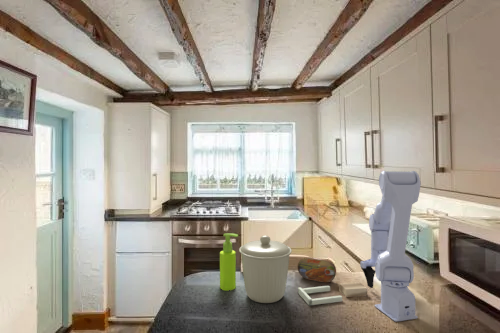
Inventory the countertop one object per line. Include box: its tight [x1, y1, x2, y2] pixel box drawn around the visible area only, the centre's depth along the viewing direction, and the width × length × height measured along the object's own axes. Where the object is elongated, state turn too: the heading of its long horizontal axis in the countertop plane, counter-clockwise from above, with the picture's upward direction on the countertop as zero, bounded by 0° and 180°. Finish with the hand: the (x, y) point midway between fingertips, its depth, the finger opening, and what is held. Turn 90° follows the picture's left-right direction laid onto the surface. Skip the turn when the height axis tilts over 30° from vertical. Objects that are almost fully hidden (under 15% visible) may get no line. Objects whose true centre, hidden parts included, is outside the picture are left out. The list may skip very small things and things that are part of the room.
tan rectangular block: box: [338, 281, 368, 298], centre depth 102 cm, size 5×8×3 cm, turn 98°
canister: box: [238, 235, 293, 304], centre depth 99 cm, size 18×18×21 cm
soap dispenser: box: [219, 232, 239, 292], centre depth 106 cm, size 6×7×20 cm
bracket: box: [297, 285, 343, 306], centre depth 98 cm, size 9×12×2 cm
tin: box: [297, 256, 337, 283], centre depth 113 cm, size 15×3×8 cm, turn 62°
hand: (379, 285), depth 104 cm, fingers open, 7 cm apart
